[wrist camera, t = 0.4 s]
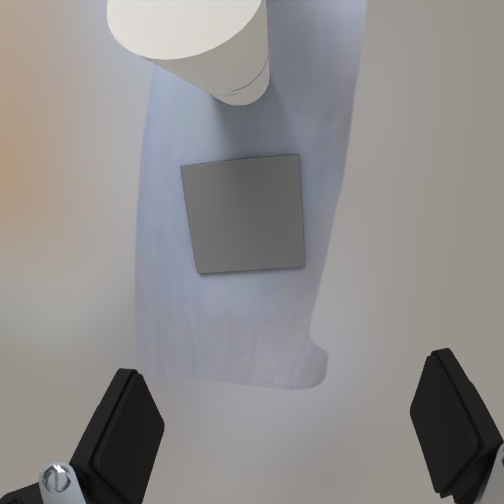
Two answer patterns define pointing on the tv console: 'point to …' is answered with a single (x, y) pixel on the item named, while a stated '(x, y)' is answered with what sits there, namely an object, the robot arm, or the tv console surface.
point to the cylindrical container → (200, 42)
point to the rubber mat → (245, 213)
